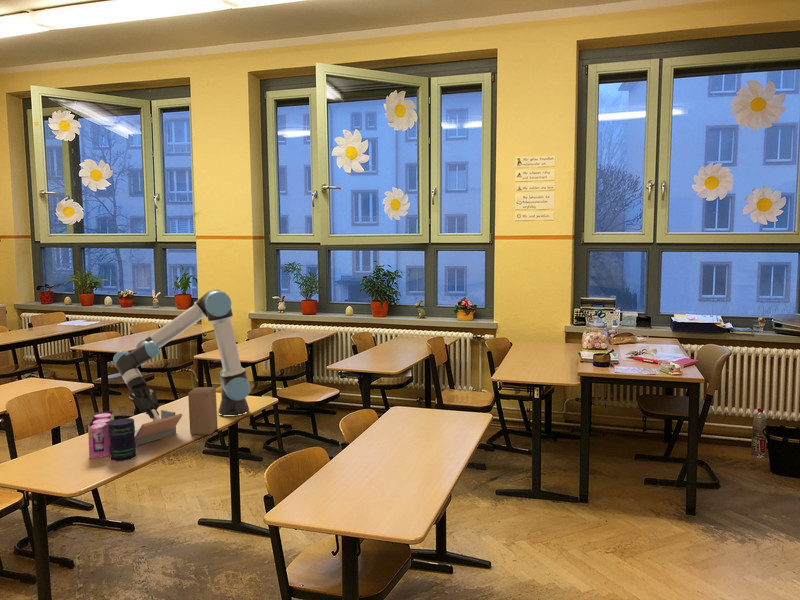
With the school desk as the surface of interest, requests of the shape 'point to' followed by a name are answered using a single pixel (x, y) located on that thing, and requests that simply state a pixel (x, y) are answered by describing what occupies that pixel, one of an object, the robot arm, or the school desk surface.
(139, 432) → the panel
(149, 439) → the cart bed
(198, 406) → the wooden block
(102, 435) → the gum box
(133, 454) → the storage jar
